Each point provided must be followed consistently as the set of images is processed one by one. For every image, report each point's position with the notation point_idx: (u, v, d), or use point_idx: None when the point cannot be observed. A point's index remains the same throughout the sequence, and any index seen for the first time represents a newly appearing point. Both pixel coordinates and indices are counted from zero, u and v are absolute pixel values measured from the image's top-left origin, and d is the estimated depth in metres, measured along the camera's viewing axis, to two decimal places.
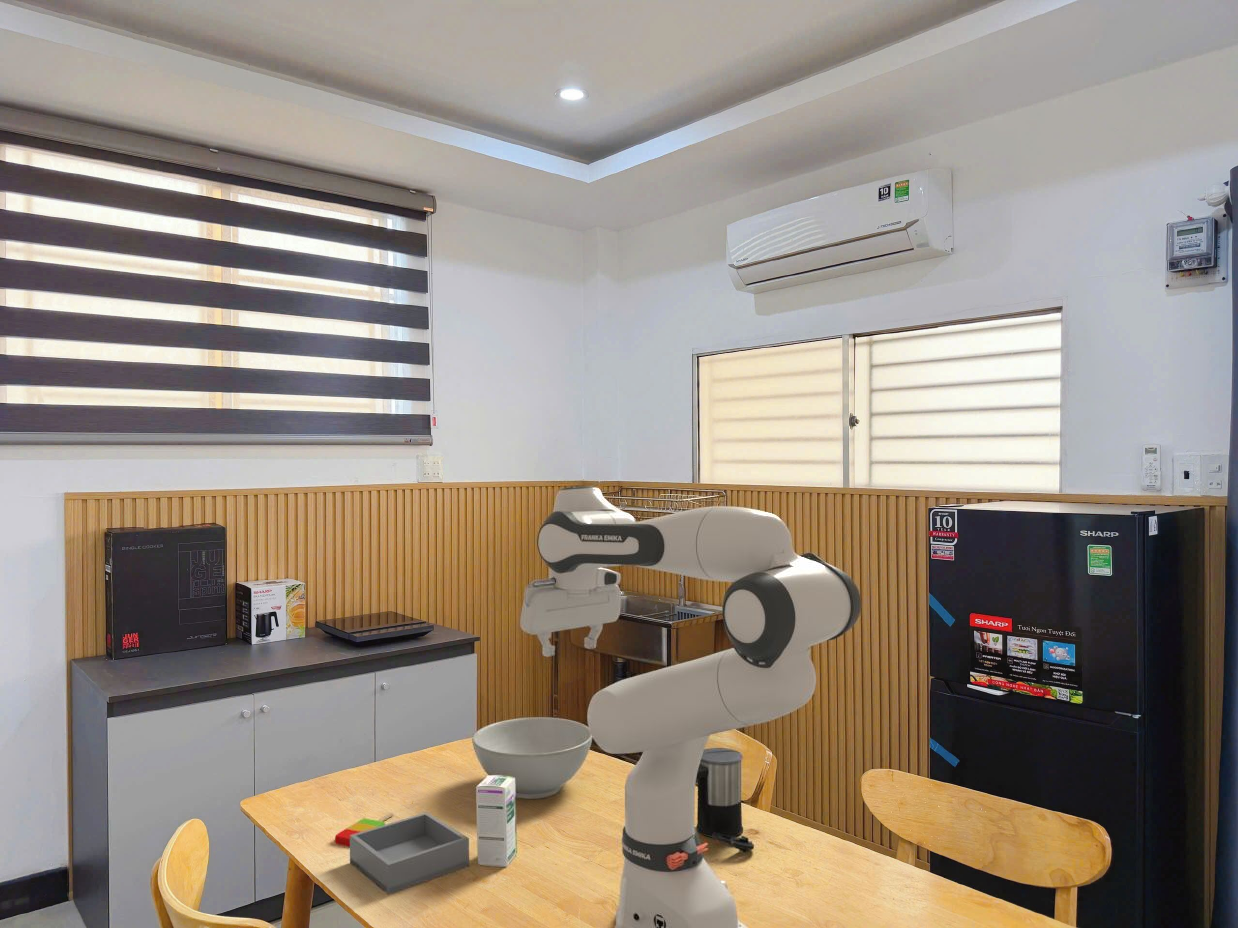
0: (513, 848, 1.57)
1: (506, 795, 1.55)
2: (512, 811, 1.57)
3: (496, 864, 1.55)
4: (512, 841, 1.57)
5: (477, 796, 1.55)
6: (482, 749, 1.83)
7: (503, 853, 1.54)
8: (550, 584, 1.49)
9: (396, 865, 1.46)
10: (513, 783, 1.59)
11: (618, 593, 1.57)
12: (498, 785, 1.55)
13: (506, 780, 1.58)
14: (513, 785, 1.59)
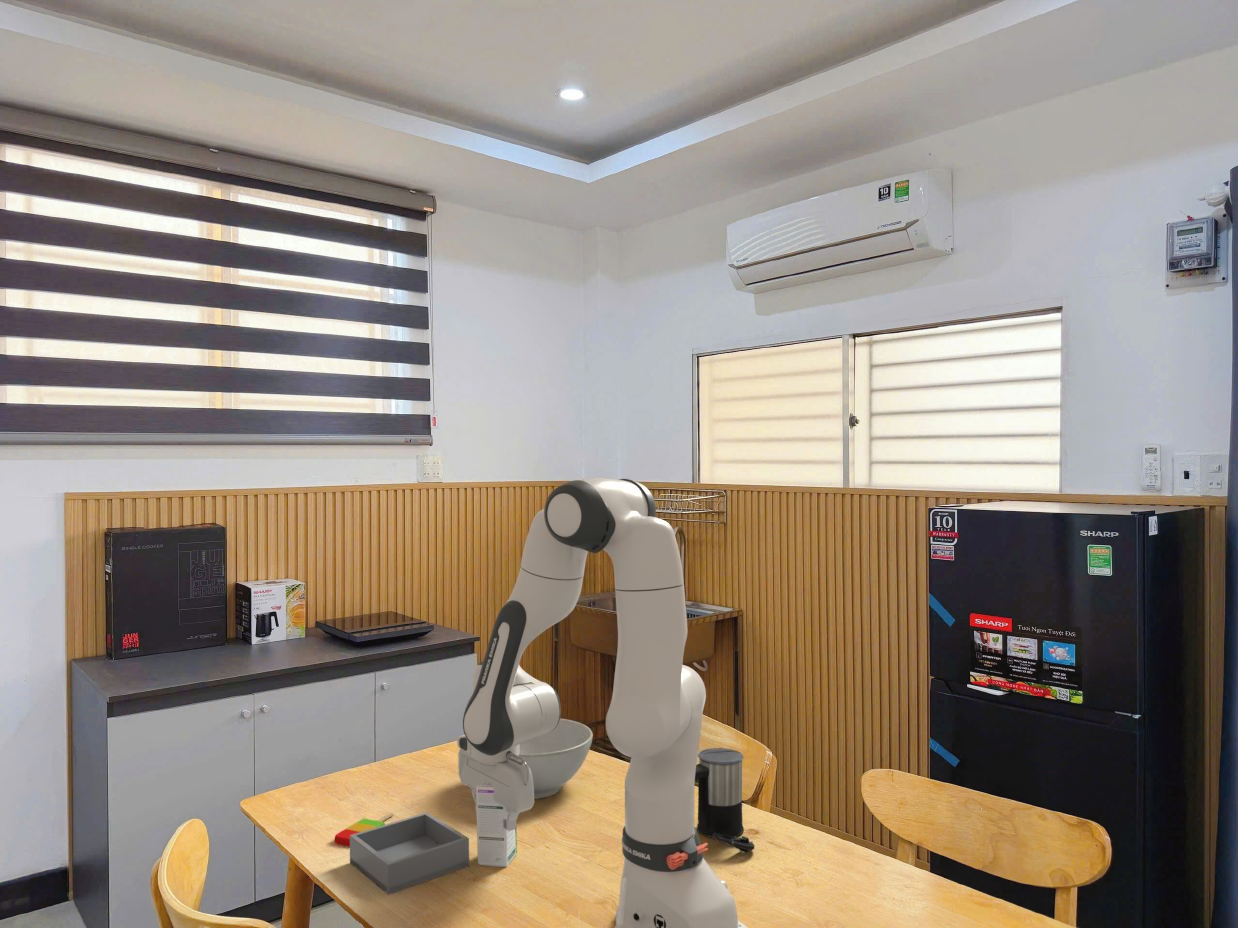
0: (513, 848, 1.57)
1: None
2: None
3: (496, 864, 1.55)
4: (512, 841, 1.57)
5: (477, 796, 1.55)
6: None
7: (503, 853, 1.54)
8: None
9: (396, 865, 1.46)
10: None
11: None
12: None
13: None
14: None
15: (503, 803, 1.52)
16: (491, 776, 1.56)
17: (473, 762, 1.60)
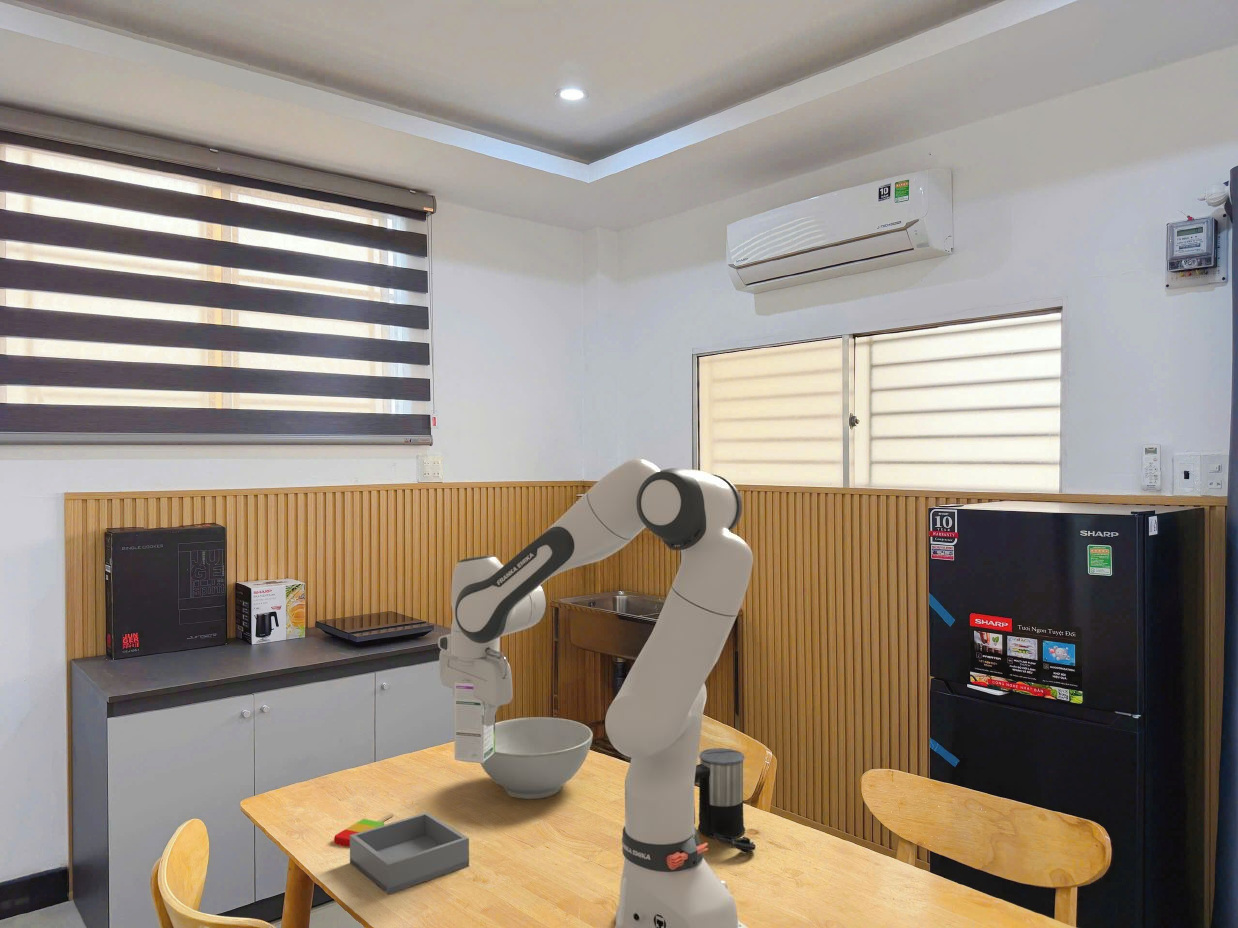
0: (490, 746, 1.57)
1: None
2: None
3: (472, 760, 1.54)
4: (490, 740, 1.57)
5: (456, 692, 1.55)
6: None
7: (480, 750, 1.54)
8: None
9: (396, 865, 1.46)
10: None
11: None
12: None
13: None
14: None
15: (482, 698, 1.52)
16: (471, 673, 1.55)
17: (453, 662, 1.60)
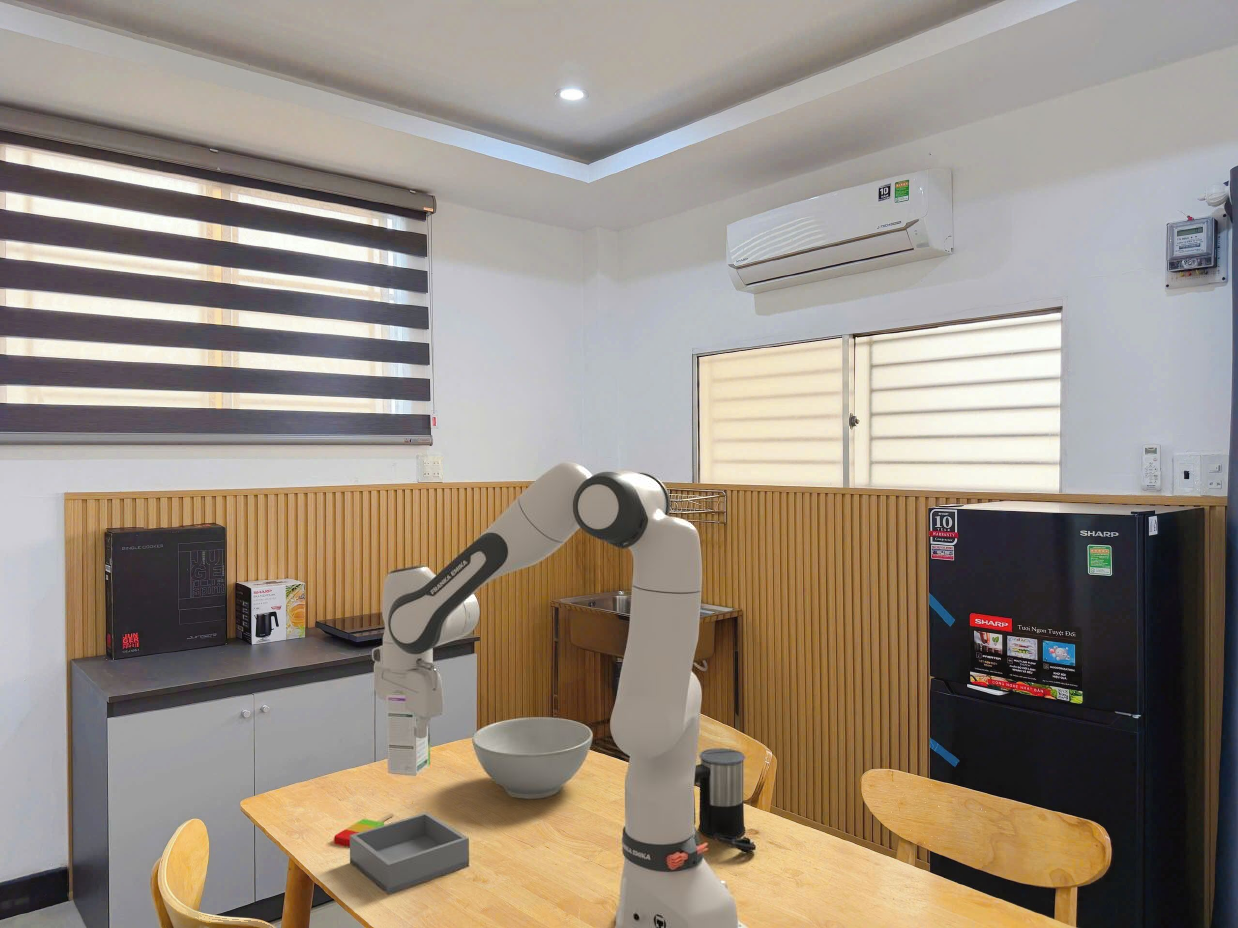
0: (424, 758, 1.55)
1: None
2: None
3: (405, 773, 1.53)
4: (424, 752, 1.55)
5: (388, 704, 1.53)
6: (482, 749, 1.83)
7: (412, 762, 1.53)
8: None
9: (396, 865, 1.46)
10: None
11: None
12: None
13: None
14: None
15: (413, 710, 1.50)
16: (403, 685, 1.54)
17: (387, 674, 1.59)
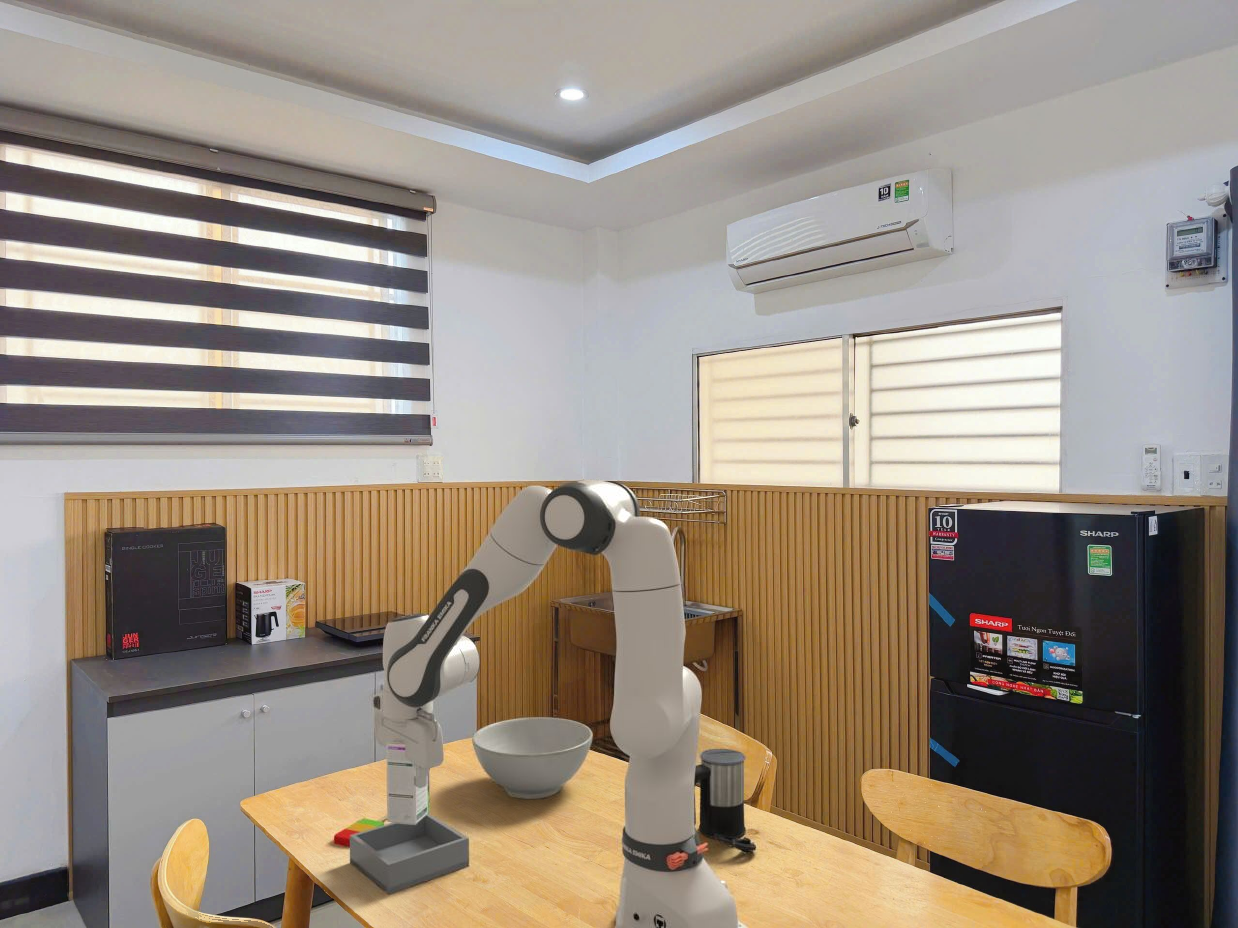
0: (424, 806, 1.56)
1: None
2: None
3: (405, 822, 1.53)
4: (423, 800, 1.55)
5: (388, 753, 1.53)
6: (482, 749, 1.83)
7: (412, 811, 1.53)
8: None
9: (396, 865, 1.46)
10: None
11: None
12: None
13: None
14: None
15: (413, 760, 1.50)
16: (403, 734, 1.54)
17: (387, 721, 1.59)
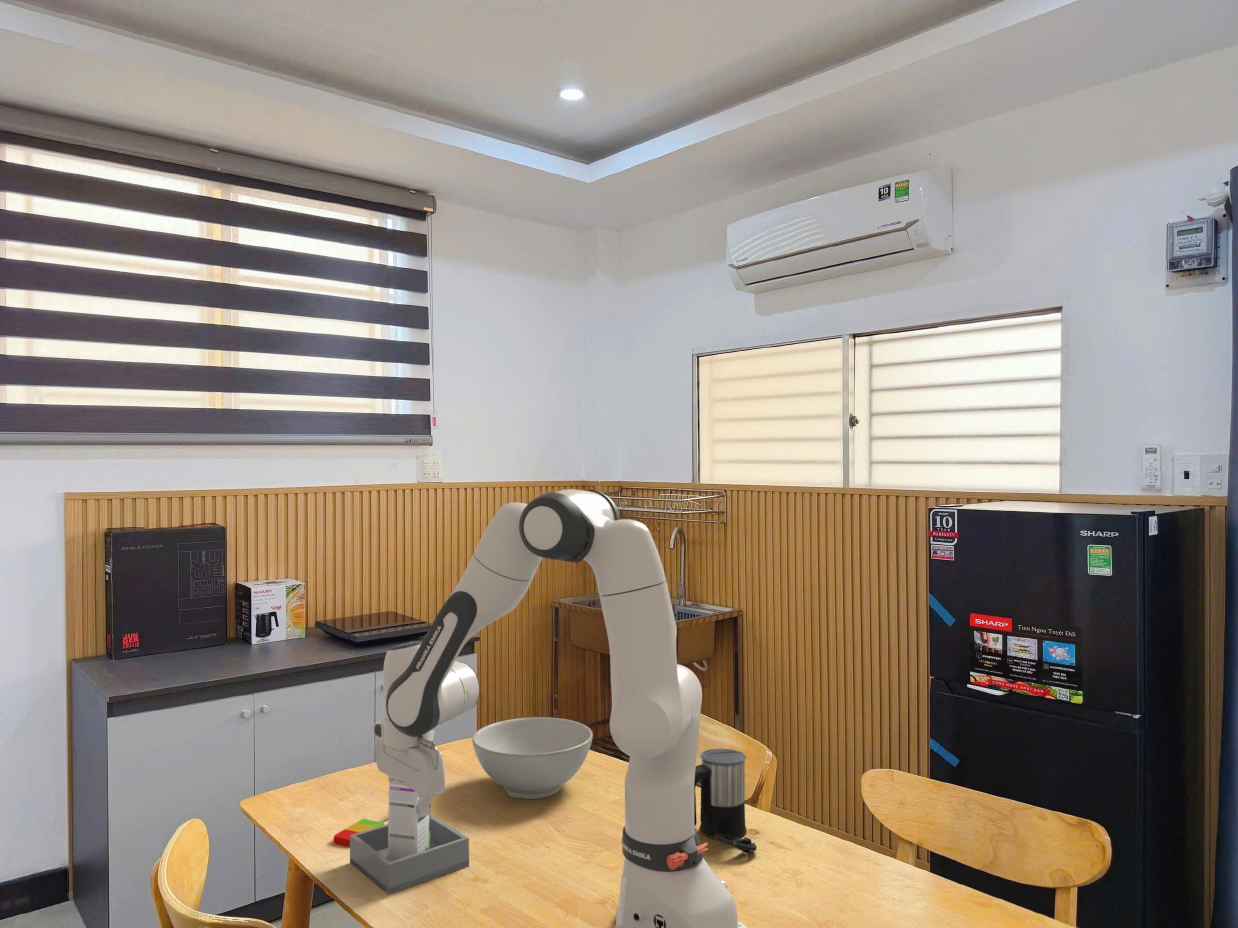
0: (425, 847, 1.56)
1: None
2: None
3: None
4: (424, 840, 1.55)
5: (390, 793, 1.54)
6: (482, 749, 1.83)
7: (413, 852, 1.53)
8: None
9: (396, 865, 1.46)
10: None
11: None
12: None
13: None
14: None
15: (415, 788, 1.50)
16: (404, 762, 1.54)
17: (388, 749, 1.59)
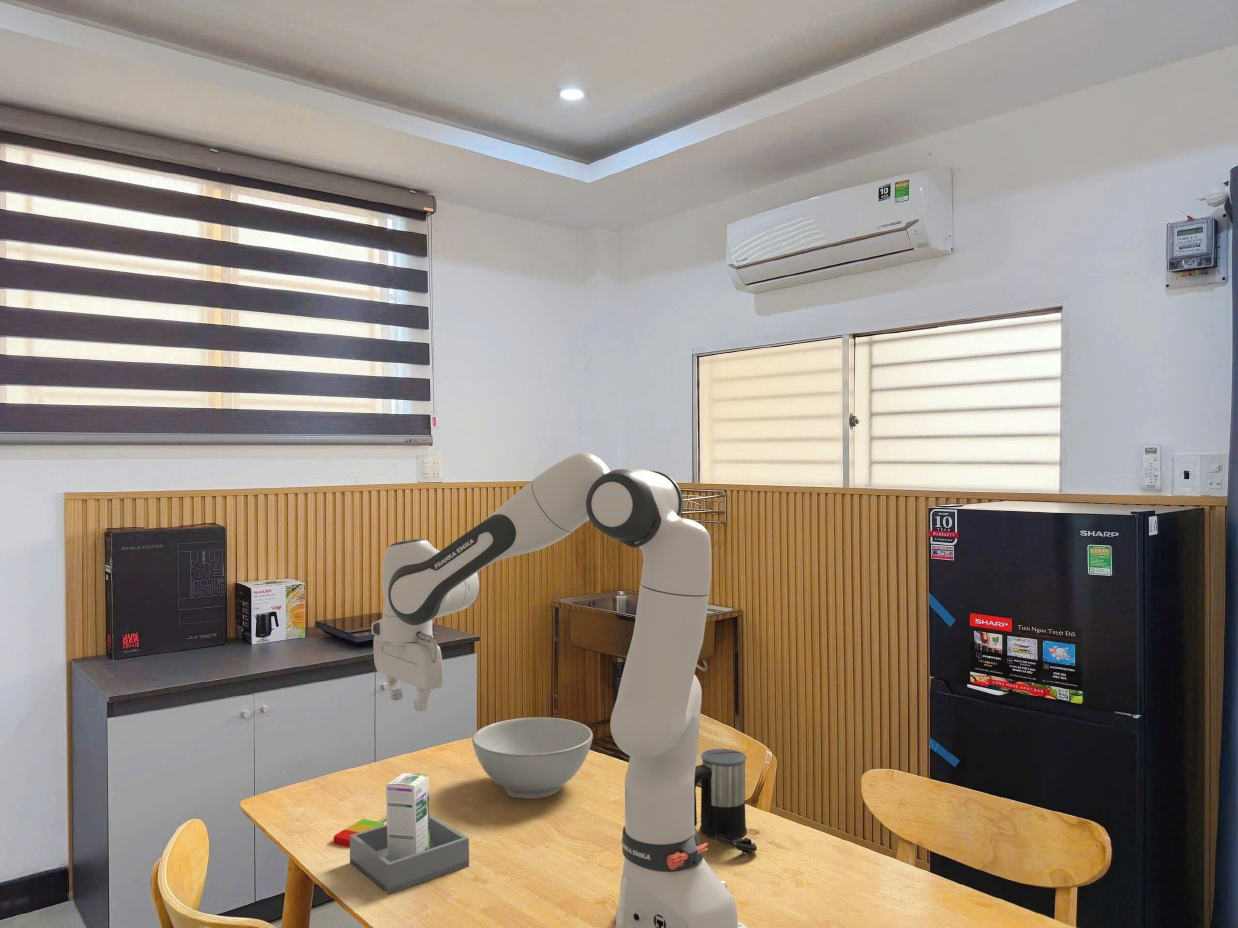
0: (424, 847, 1.56)
1: (416, 793, 1.53)
2: (423, 810, 1.55)
3: None
4: (424, 840, 1.55)
5: (387, 794, 1.54)
6: (482, 749, 1.83)
7: (412, 852, 1.53)
8: None
9: (396, 865, 1.46)
10: (426, 781, 1.57)
11: None
12: (408, 783, 1.53)
13: (418, 778, 1.56)
14: (426, 783, 1.57)
15: (413, 682, 1.51)
16: (402, 658, 1.54)
17: (387, 648, 1.59)
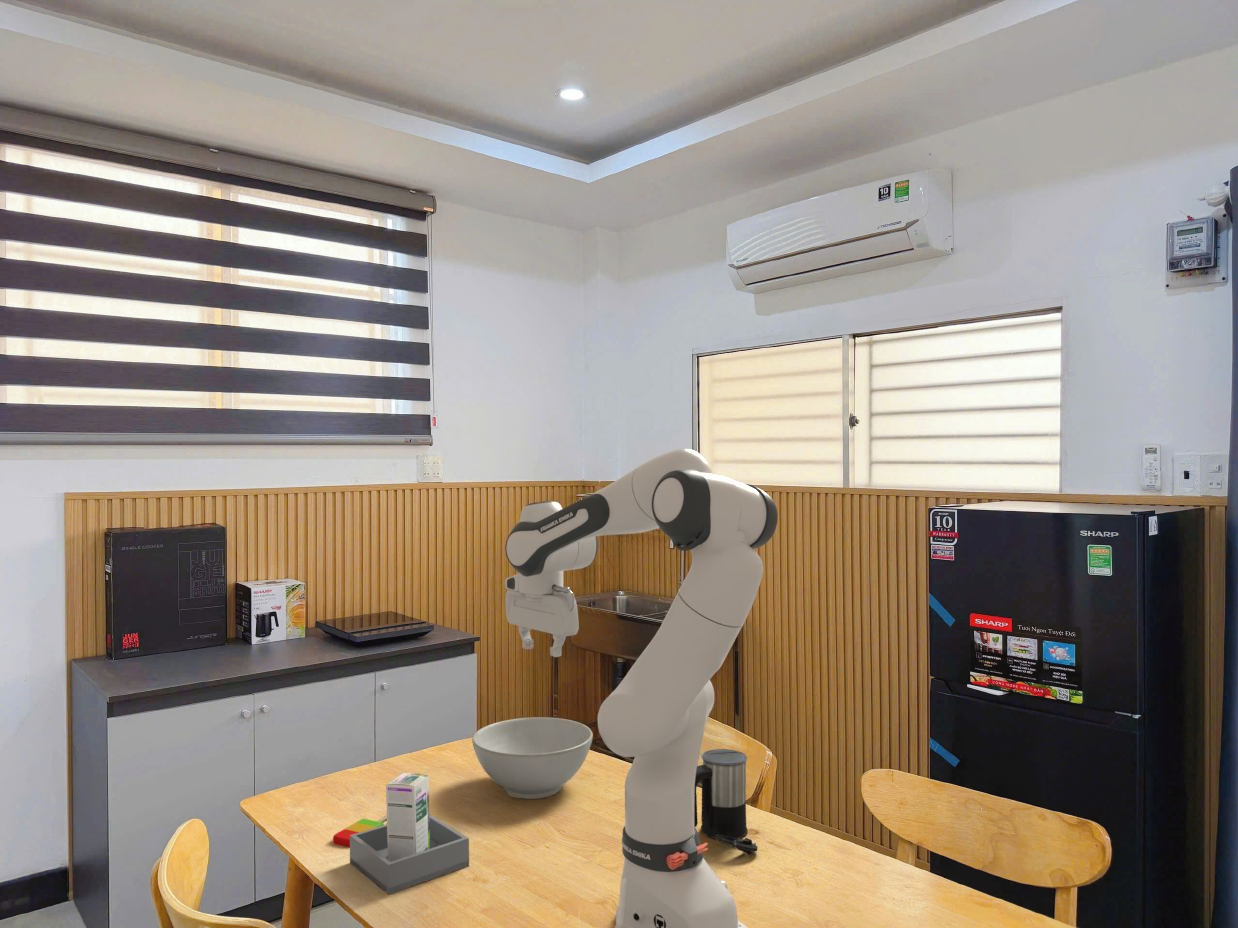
0: (424, 847, 1.56)
1: (416, 793, 1.53)
2: (423, 810, 1.55)
3: None
4: (424, 840, 1.55)
5: (387, 794, 1.54)
6: (482, 749, 1.83)
7: (412, 852, 1.53)
8: None
9: (396, 865, 1.46)
10: (426, 781, 1.57)
11: None
12: (408, 783, 1.53)
13: (418, 778, 1.56)
14: (426, 783, 1.57)
15: (550, 630, 1.65)
16: (538, 609, 1.69)
17: (520, 601, 1.73)
